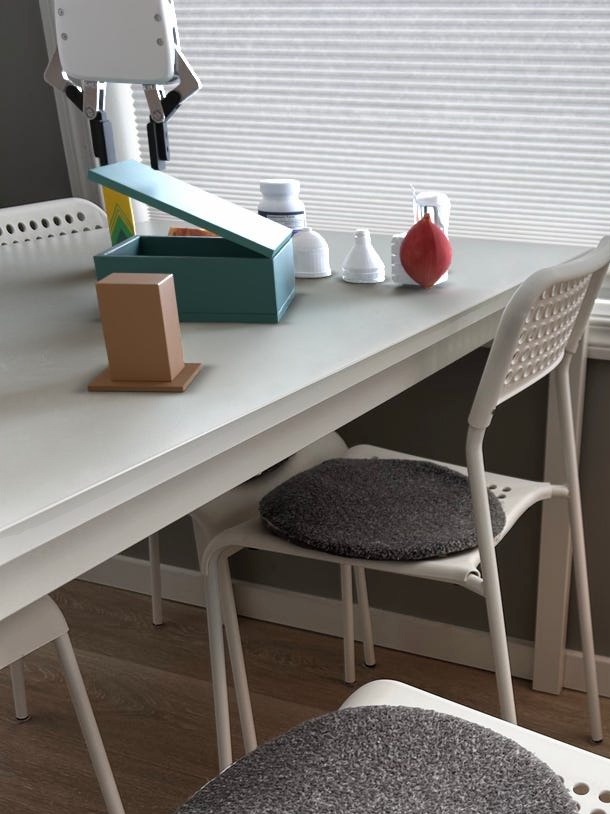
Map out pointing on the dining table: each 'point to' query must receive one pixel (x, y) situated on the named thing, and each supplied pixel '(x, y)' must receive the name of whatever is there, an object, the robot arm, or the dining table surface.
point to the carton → (140, 326)
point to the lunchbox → (210, 275)
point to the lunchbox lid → (192, 205)
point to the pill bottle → (282, 203)
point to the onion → (425, 252)
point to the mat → (146, 382)
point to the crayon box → (119, 215)
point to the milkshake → (432, 208)
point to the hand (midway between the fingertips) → (133, 166)
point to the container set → (348, 259)
